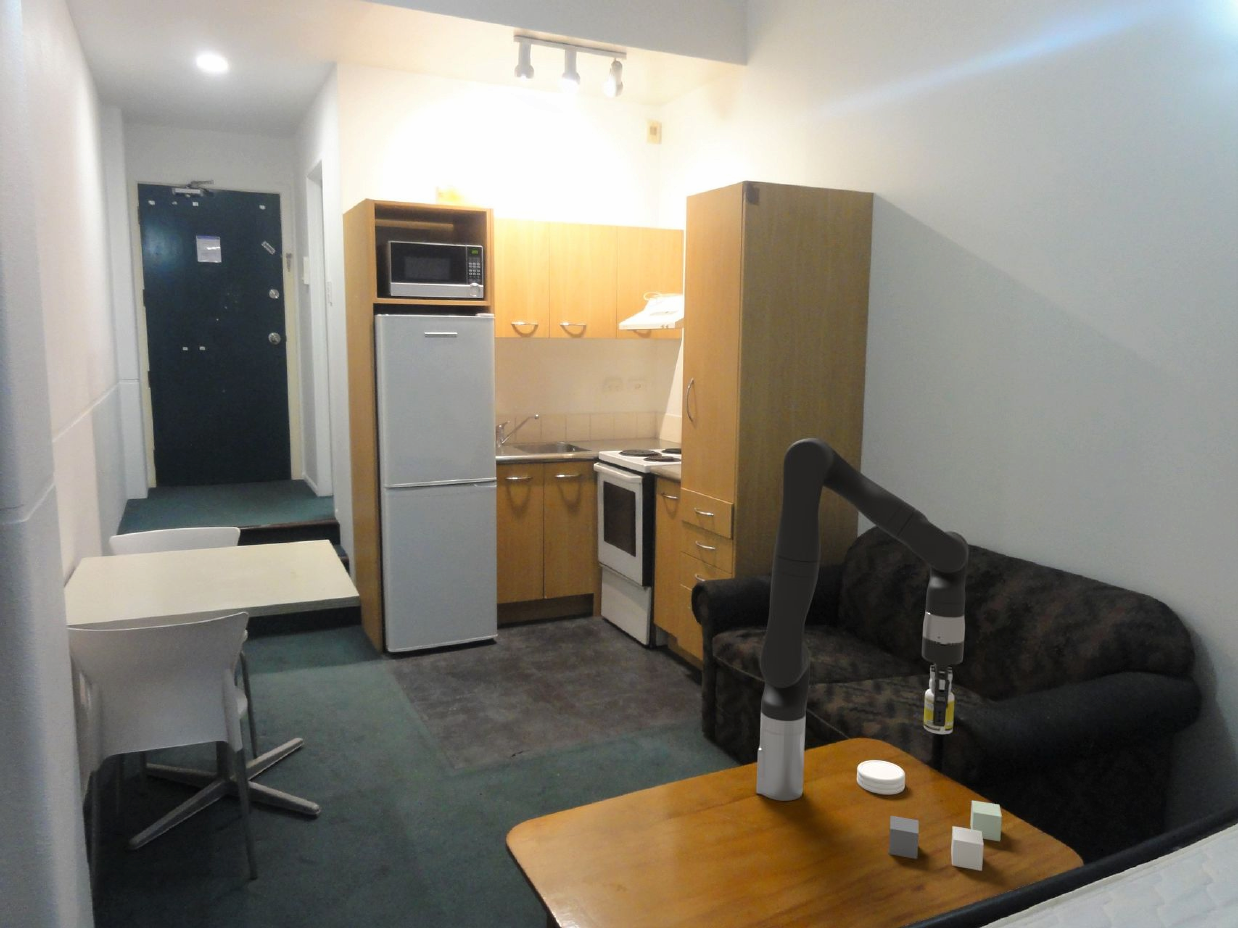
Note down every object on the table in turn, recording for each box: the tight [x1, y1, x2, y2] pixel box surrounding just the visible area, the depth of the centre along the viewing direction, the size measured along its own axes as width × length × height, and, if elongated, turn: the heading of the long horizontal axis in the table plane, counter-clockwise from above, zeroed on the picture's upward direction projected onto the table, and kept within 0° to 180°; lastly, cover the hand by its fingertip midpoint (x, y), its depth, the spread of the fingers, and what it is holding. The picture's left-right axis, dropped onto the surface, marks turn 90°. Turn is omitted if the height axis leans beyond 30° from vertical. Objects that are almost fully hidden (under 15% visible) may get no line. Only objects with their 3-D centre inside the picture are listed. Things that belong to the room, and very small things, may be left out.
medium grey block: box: [888, 815, 920, 860], centre depth 163 cm, size 5×5×5 cm
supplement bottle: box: [923, 678, 955, 735], centre depth 170 cm, size 5×5×10 cm
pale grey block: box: [950, 825, 984, 871], centre depth 160 cm, size 5×5×5 cm
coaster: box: [856, 759, 906, 796], centre depth 189 cm, size 10×10×4 cm
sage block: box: [969, 800, 1003, 842], centre depth 170 cm, size 5×5×5 cm
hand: (938, 719), depth 171 cm, fingers closed on supplement bottle, 5 cm apart
